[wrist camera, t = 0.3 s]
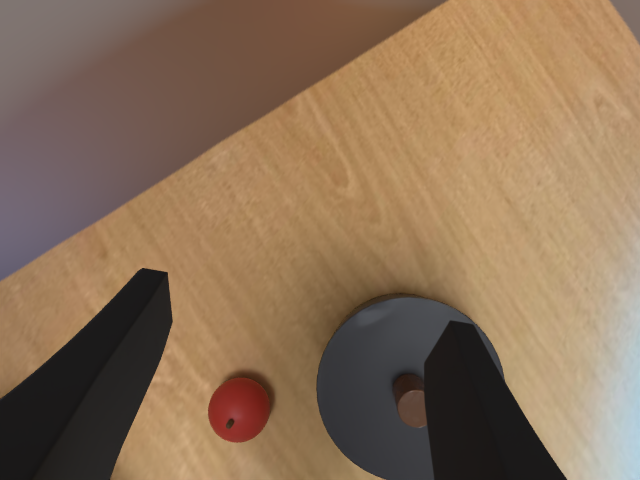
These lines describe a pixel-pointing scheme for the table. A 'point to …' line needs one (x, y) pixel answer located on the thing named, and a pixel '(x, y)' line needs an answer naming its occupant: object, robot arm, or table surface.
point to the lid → (384, 384)
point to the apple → (239, 410)
